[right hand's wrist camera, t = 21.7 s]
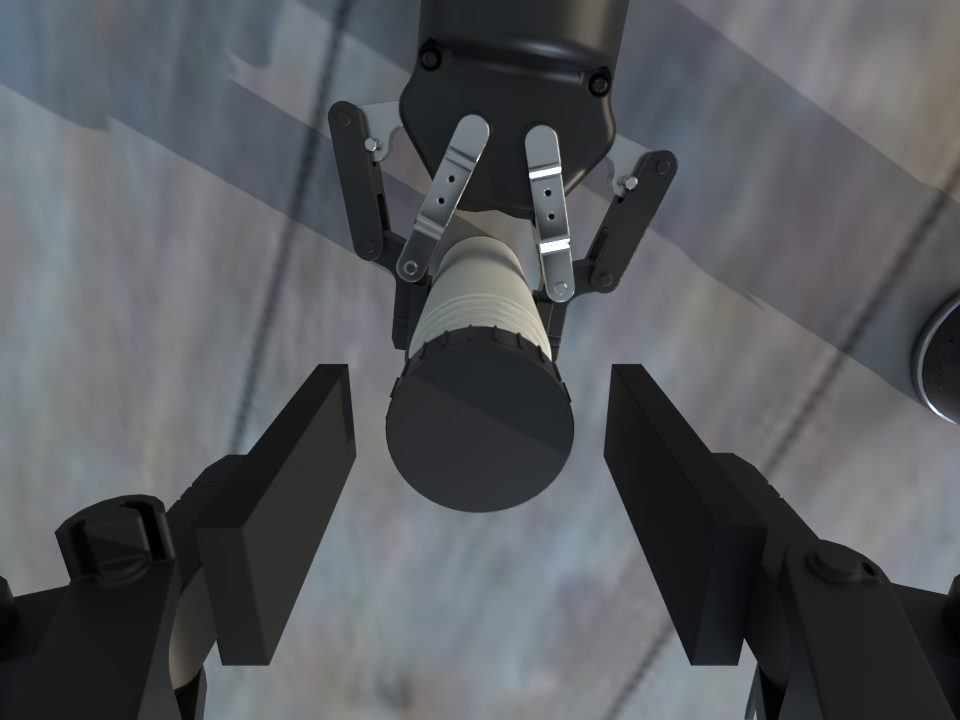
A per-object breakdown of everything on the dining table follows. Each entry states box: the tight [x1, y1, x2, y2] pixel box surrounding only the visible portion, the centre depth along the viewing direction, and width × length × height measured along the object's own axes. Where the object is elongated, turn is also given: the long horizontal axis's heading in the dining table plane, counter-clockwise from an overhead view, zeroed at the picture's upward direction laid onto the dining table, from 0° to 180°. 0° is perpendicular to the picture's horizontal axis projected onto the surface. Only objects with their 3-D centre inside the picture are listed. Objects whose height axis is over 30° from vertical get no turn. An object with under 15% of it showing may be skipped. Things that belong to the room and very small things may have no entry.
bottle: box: [409, 236, 551, 360], centre depth 22 cm, size 5×5×18 cm
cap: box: [386, 324, 574, 513], centre depth 14 cm, size 5×5×2 cm
